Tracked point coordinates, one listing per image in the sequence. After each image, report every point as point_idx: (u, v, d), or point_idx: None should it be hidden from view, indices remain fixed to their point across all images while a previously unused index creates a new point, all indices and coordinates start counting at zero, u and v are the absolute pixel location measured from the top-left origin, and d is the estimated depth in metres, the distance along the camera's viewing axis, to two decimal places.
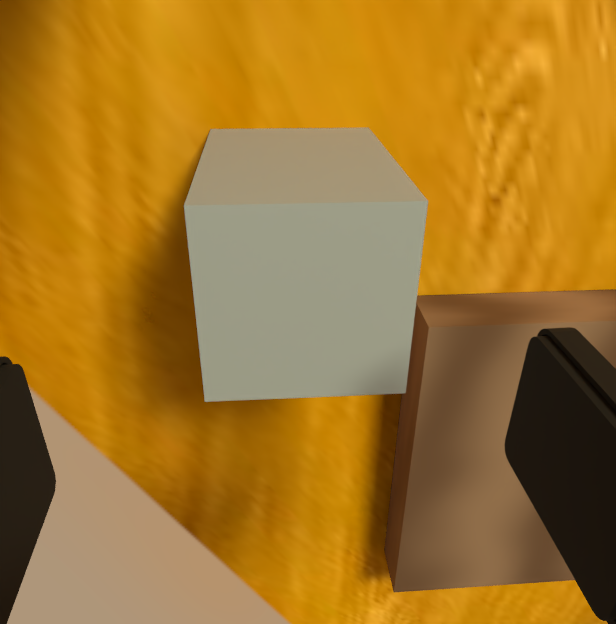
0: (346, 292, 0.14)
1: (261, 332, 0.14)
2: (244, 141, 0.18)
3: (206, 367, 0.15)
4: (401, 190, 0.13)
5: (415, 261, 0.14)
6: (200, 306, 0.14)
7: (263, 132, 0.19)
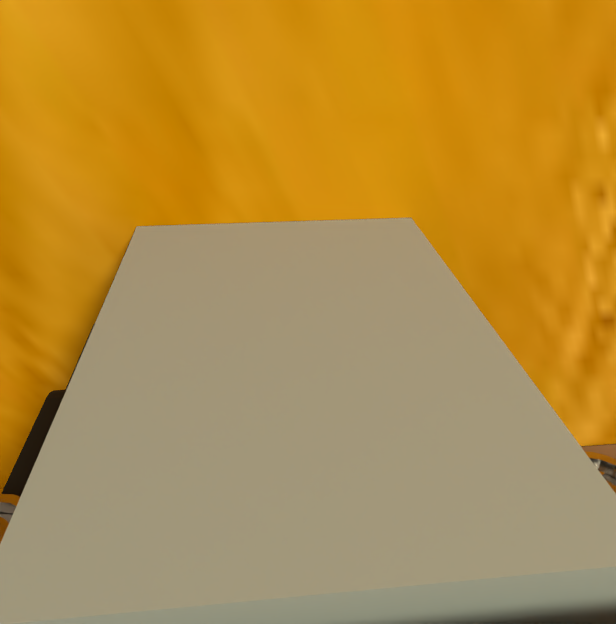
0: None
1: None
2: (191, 265, 0.09)
3: None
4: (565, 488, 0.05)
5: None
6: None
7: (229, 235, 0.11)
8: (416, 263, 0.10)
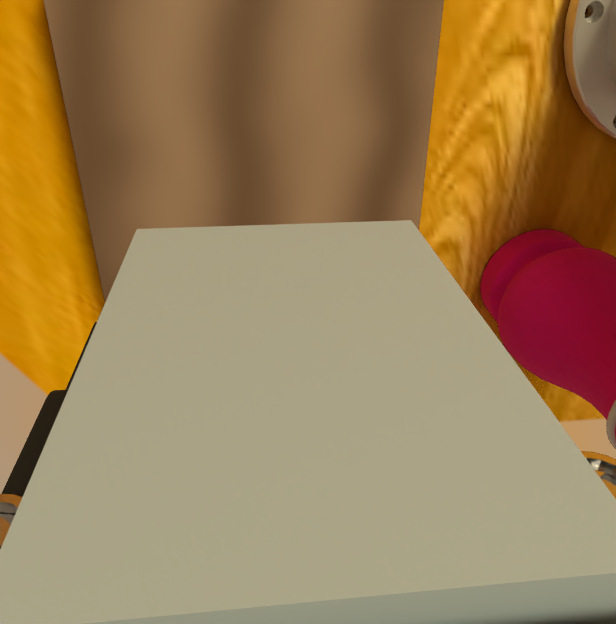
0: None
1: None
2: (192, 268, 0.09)
3: None
4: (566, 494, 0.05)
5: None
6: None
7: (229, 238, 0.11)
8: (416, 266, 0.10)
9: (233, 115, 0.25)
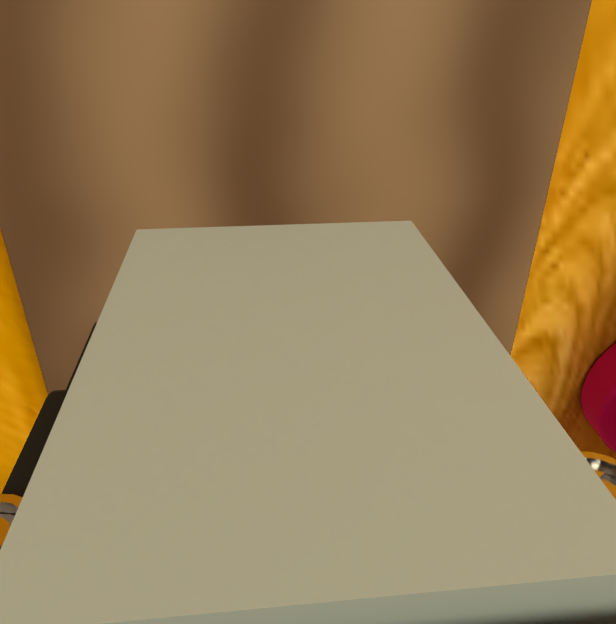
0: None
1: None
2: (191, 269, 0.09)
3: None
4: (566, 495, 0.05)
5: None
6: None
7: (229, 239, 0.11)
8: (416, 266, 0.10)
9: (248, 178, 0.16)
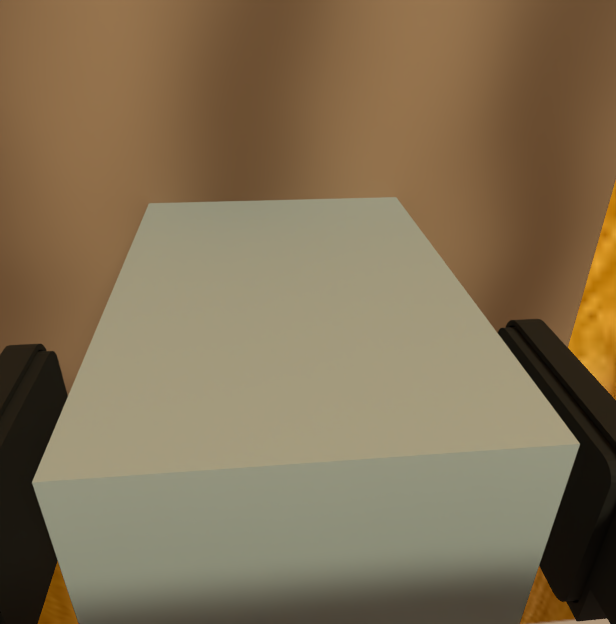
0: (393, 594, 0.07)
1: None
2: (199, 234, 0.11)
3: None
4: (508, 396, 0.07)
5: (536, 541, 0.07)
6: None
7: (232, 211, 0.12)
8: (398, 233, 0.11)
9: None
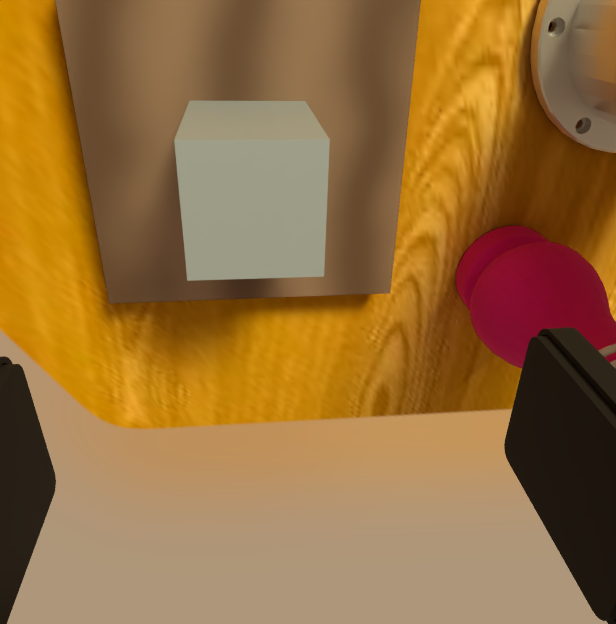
0: (280, 201, 0.21)
1: (225, 229, 0.21)
2: (214, 108, 0.25)
3: (188, 254, 0.22)
4: (315, 134, 0.21)
5: (324, 180, 0.21)
6: (184, 209, 0.21)
7: (228, 103, 0.26)
8: (299, 109, 0.25)
9: None
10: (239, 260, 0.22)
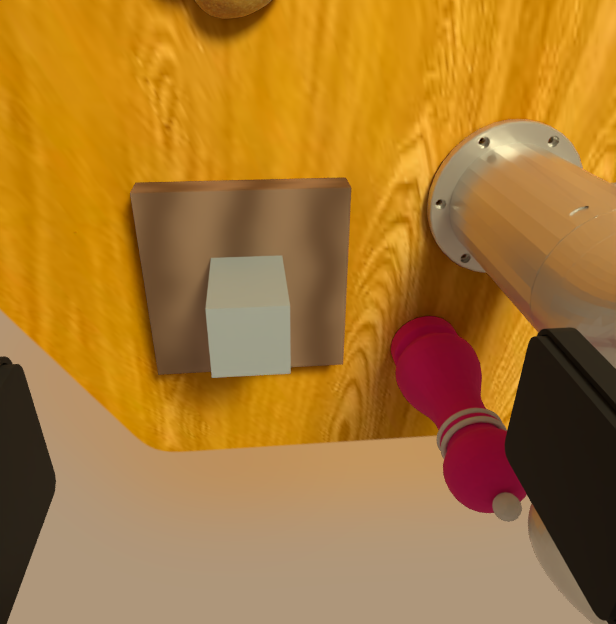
0: (263, 336, 0.38)
1: (233, 351, 0.38)
2: (226, 267, 0.42)
3: (212, 364, 0.39)
4: (282, 299, 0.38)
5: (288, 325, 0.38)
6: (210, 342, 0.38)
7: (234, 260, 0.43)
8: (277, 267, 0.42)
9: None
10: (241, 366, 0.39)
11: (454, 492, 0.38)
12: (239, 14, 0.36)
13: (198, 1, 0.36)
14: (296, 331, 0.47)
